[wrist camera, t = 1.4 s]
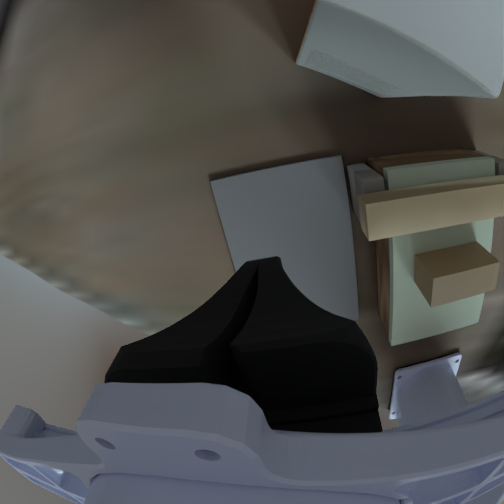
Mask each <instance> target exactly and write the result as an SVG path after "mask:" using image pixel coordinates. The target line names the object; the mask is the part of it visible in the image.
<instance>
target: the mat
mask: <svg viewBox="0 0 504 504" xmlns="http://www.w3.org/2000/svg"><path fill="white" fill-rule="evenodd" d="M210 183H211V187H212V190H213V194H214V198H215V201H216V205H217V208H218V212H219V215H220V219H221V222H222V226H223V229H224V233H225V236H226V240H227V243H228V247H229V250H230V254H231V257H232V260H233V264H234V267H235V271H236V272H237V271H238V269H239V268H240V267H241V266H242V265H243V264H244V263H245V262H246V261H251V260H257V259H263V258H269V257H274V256H278V257H280V258H281V261H282V266H283V269H284V271H285V272H286V274H287V275H288V277H289V278H290V280H291V281H292V282H293V284H294V285H295V286H296V287H297V288H298V289H299V290H300V291H301V292H302V293H303V294H304V295H305V296H306V297H307V298H308V299H309V300H311V301H312V302H313V303H315V304H316V305H318V306H319V307H321V308H323V309H324V310H326V311H328V312H331V313H333V314H335V315H338V316H341V317H344V318H347V319H351V320H353V321H354V320H359V310H358V292H357V278H356V265H355V254H354V244H353V234H352V225H351V217H350V209H349V201H348V194H347V187H346V180H345V174H344V168H343V161H342V156H341V155H336V156H330V157H324V158H318V159H312V160H306V161H301V162H295V163H290V164H285V165H280V166H275V167H270V168H265V169H260V170H255V171H251V172H246V173H241V174H237V175H232V176H228V177H224V178H219V179H215V180H211V181H210Z"/></svg>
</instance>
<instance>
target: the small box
mask: <svg viewBox="0 0 504 504" xmlns="http://www.w3.org/2000/svg"><path fill="white" fill-rule="evenodd" d="M295 63H296V64H297V65H300V66H303V67H306V68H309V69H312V70H315V71H317V72H320V73H323V74H325V75H328V76H331V77H333V78H336V79H338V80H341V81H343V82H346V83H348V84H351V85H353V86H355V87H357V88H360V89H362V90H364V91H366V92H369V93H371V94H373V95H375V96H377V97H380V98H390V97H412V96H469V97H485V98H494V99H496V98H497V97H498V96H499V94H500V93H501V88H502V85H503V81H504V0H315V1H314V4H313V8H312V11H311V14H310V17H309V20H308V23H307V27H306V30H305V33H304V37H303V40H302V43H301V46H300V49H299V52H298V56H297V58H296V62H295Z"/></svg>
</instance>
